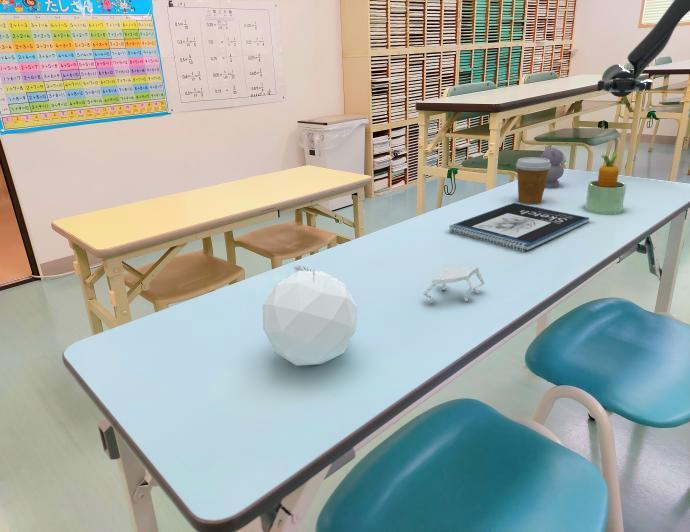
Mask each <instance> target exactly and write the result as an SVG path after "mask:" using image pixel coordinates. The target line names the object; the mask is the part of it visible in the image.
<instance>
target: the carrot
mask: <svg viewBox="0 0 690 532" xmlns="http://www.w3.org/2000/svg"><path fill="white" fill-rule="evenodd" d="M617 153H618V152H617V151H615V150H613V151H612V155H611V159H610V158H609V156H608V154H602V155H601V158H603V160H604V161H605V165H601V166H600V167H599V169H598V177H597V180H598V187H605V188H615V187H616V182H618V177H619V167H618V166H617V165H614V163H615V160H616V158H617V157H618V156H617Z"/></svg>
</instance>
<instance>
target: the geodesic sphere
mask: <svg viewBox="0 0 690 532" xmlns="http://www.w3.org/2000/svg"><path fill="white" fill-rule="evenodd" d="M302 266H303V268H302V267H301V265H295V266H293V269H294V271H296V272H293V273H292V274H291V275H289V276H288V277H286V278H284V279H283V280H281V281H279V282H278V283H276V285H275V286H274V288H272V290H271V292H270V293H269V294H268V296H267V298H266V299H265V301H263V303H262V329H263V331H264V333H265V335H266V337H267V338H266V339H268V342H269V343H270V346H271V348H272V351H273V352H274V353H276V354H277V355H278V356H280V357H282V358H284V359H285V360H286V361H288V362H290V363H292V364H293V365H294V366H299V367H300V366H317V365H323V364H325V363H327V362H328V361H331V360H333V359H335V358H337V357H338V356H341V355H343V354H344V352H345V351H346V350H347V347H348V346H349V344H350V342H351V340H352V338H353V337H354V335H355V333H356V331H357V321H358V305H357V304H356V302H355V300H354V298H353V296H352V294H351V292H350V291H349V289H348V287H347V285H346V283H344V282H342V281H340V280H339V279H337V278H335V277H334V276H331V275H330V274H328V273H326V272H325V271H321V270H319V271H318V270H312V269H311V268H308V267H305V266H304V265H302Z"/></svg>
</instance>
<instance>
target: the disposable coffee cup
mask: <svg viewBox="0 0 690 532" xmlns="http://www.w3.org/2000/svg"><path fill="white" fill-rule="evenodd" d="M515 166H516V170H517V172H516V173H517V192H518V193H517V196H518V202H519V203H521V204H525V205H527V204H528V205H536V204H540V203H542V199H543V195H544V192H545V188H546V187H545V183H546V179H547V175H548V171H549V169H550V167H551V164H550V160H549V159H546V158H541V156H540V157H538V156H537V157H536V156H527V157H526V156H525V157H520V158H518V159H517V162H516V163H515Z"/></svg>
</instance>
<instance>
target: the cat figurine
mask: <svg viewBox="0 0 690 532" xmlns="http://www.w3.org/2000/svg"><path fill="white" fill-rule="evenodd" d="M540 158H546V159H549V160H550V164H551V167H550V169H549V171H548V175H547V179H546V183H545V188H549V189H554V188H558V187H560V180H559V179H561V178H562V177H563V175H564V172H565V170H564V166H563V165H562V163H563V161H564V153H563V151H562V150H561V149H559V148H557V147H548V146H546V145H545V146H544V150H543V152H542V153H541V156H540Z"/></svg>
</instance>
